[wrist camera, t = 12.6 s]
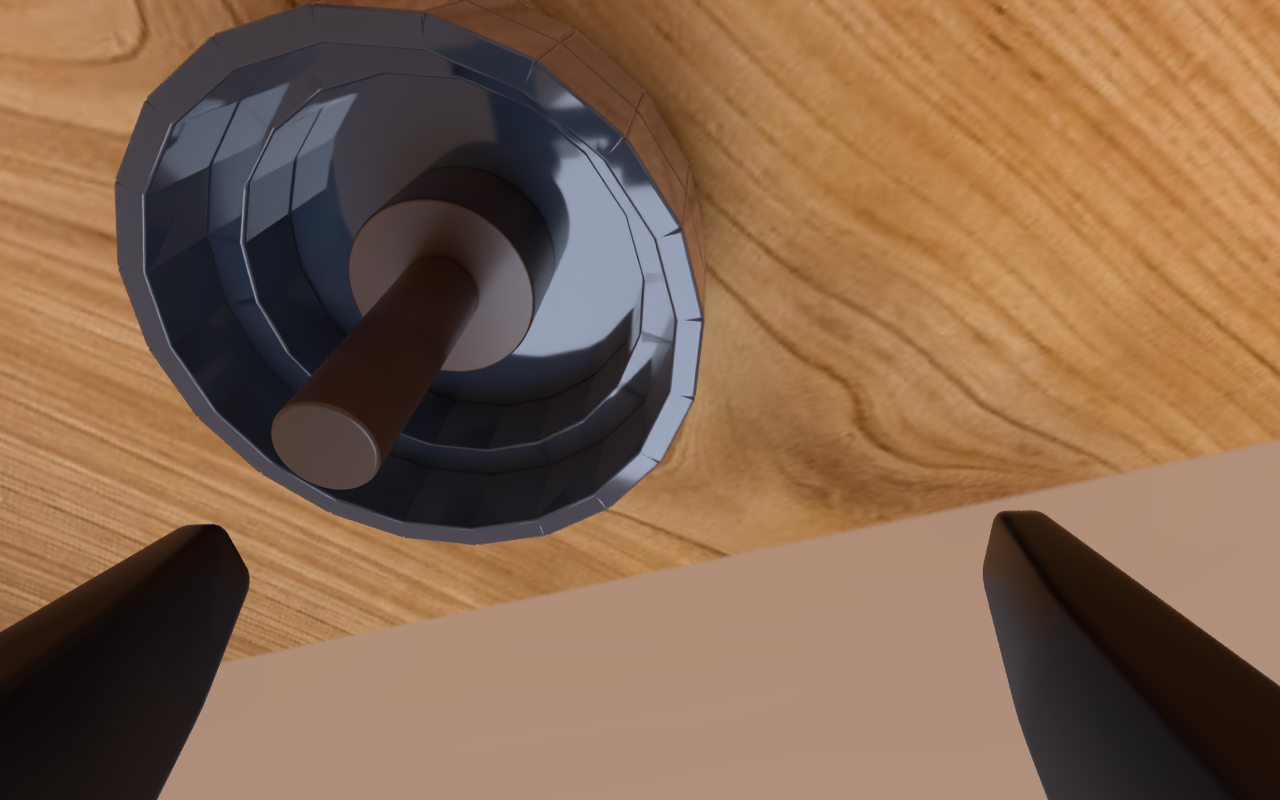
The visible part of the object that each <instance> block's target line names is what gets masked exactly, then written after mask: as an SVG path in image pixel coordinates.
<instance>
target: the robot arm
mask: <svg viewBox="0 0 1280 800" xmlns="http://www.w3.org/2000/svg"><path fill="white" fill-rule="evenodd" d="M983 581H984V586H985V591H986V595H987V599H988V603H989V607H990V611H991V615H992V619H993V623H994V627H995V630H996V635H997V639H998V642H999V646H1000V650H1001V654H1002V658H1003V662H1004V666H1005V670H1006V674H1007V678H1008V682H1009V686H1010V690H1011V694H1012V698H1013V701H1014V705H1015V709H1016V712H1017V716H1018V720H1019V723H1020V725H1021V728H1022V731H1023V734H1024V737H1025V740H1026V743H1027V745H1028V748H1029V751H1030V753H1031V756H1032V759H1033V761H1034V764H1035V767H1036V769H1037V772H1038V775H1039V777H1040V780H1041V783H1042V785H1043V788H1044V790H1045V793H1046V796H1047V799H1048V800H1280V686H1279V685H1277V684H1276V683H1275V682H1273V681H1272V680H1271V679H1269V678H1268V677H1267V676H1265V675H1264V674H1263V673H1261V672H1260V671H1258V670H1257V669H1256V668H1254V667H1253V666H1252V665H1250V664H1249V663H1247V662H1246V661H1245V660H1243V659H1242V658H1240V657H1239V656H1238V655H1236V654H1235V653H1234V652H1232V651H1231V650H1230V649H1228V648H1227V647H1225V646H1224V645H1223V644H1222V643H1220V642H1219V641H1217V640H1216V639H1215V638H1213V637H1212V636H1211V635H1209V634H1208V633H1206V632H1205V631H1203V630H1202V629H1201V628H1199V627H1198V626H1197V625H1196V624H1194V623H1193V622H1191V621H1190V620H1189V619H1187V618H1186V617H1184V616H1183V615H1182V614H1180V613H1179V612H1178V611H1176V610H1175V609H1174V608H1172V607H1171V606H1169V605H1168V604H1167V603H1165V602H1164V601H1163V600H1161V599H1160V598H1158V597H1157V596H1156V595H1154V594H1153V593H1152V592H1150V591H1149V590H1148V589H1146V588H1145V587H1144V586H1142V585H1141V584H1139V583H1138V582H1137V581H1135V580H1134V579H1132V578H1131V577H1130V576H1128V575H1127V574H1126V573H1124V572H1123V571H1122V570H1120V569H1119V568H1117V567H1116V566H1115V565H1113V564H1112V563H1111V562H1109V561H1108V560H1106V559H1105V558H1104V557H1103V556H1101V555H1100V554H1098V553H1097V552H1096V551H1094V550H1093V549H1092V548H1090V547H1089V546H1088V545H1086V544H1085V543H1083V542H1082V541H1081V540H1079V539H1078V538H1077V537H1075V536H1074V535H1072V534H1071V533H1070V532H1068V531H1067V530H1066V529H1064V528H1063V527H1062V526H1060V525H1059V524H1057V523H1056V522H1055V521H1053V520H1052V519H1050V518H1049V517H1048V516H1046V515H1045V514H1043V513H1041V512H1038V511H1032V510H1029V511H1002V512H1000V513H998V514H997V515H996V517H995V519H994V521H993V524H992V529H991V533H990V538H989V543H988V546H987V551H986V555H985V560H984V565H983ZM249 583H250V579H249V572H248V569H247V567H246V565H245V564H244V562H243V560H242V558H241V556H240V555H239V553H238V551H237V549H236V548H235V546H234V544H233V542H232V540H231V539H230V537H229V535H228V533H227V532H226V531H225V529H223V528H222V527H220V526H219V525H215V524H199V525H186V526H183V527H180V528H178V529H176V530H175V531H173V532H171V533H170V534H168V535H166V536H164V537H163V538H161V539H159V540H158V541H156V542H154V543H152V544H151V545H149V546H147V547H146V548H144V549H142V550H140V551H139V552H137V553H135V554H134V555H132V556H130V557H128V558H127V559H125V560H123V561H122V562H120V563H118V564H116V565H115V566H113V567H111V568H110V569H108V570H106V571H104V572H103V573H101V574H99V575H98V576H96V577H94V578H92V579H91V580H89V581H87V582H86V583H84V584H82V585H80V586H79V587H77V588H75V589H74V590H72V591H70V592H68V593H67V594H65V595H63V596H62V597H60V598H58V599H56V600H55V601H53V602H51V603H50V604H48V605H46V606H44V607H43V608H41V609H39V610H38V611H36V612H34V613H32V614H31V615H29V616H27V617H26V618H24V619H22V620H20V621H19V622H17V623H15V624H14V625H12V626H10V627H8V628H7V629H5V630H3V631H2V632H0V800H157V799H158V797H159V795H160V793H161V791H162V789H163V787H164V785H165V783H166V781H167V779H168V777H169V775H170V773H171V771H172V769H173V767H174V765H175V763H176V761H177V759H178V757H179V755H180V752H181V751H182V749H183V747H184V745H185V743H186V741H187V739H188V737H189V735H190V733H191V731H192V729H193V727H194V724H195V722H196V720H197V718H198V716H199V714H200V712H201V709H202V707H203V705H204V703H205V700H206V698H207V695H208V693H209V691H210V688H211V685H212V683H213V680H214V678H215V675H216V673H217V670H218V668H219V665H220V662H221V660H222V657H223V655H224V652H225V649H226V647H227V644H228V642H229V639H230V636H231V634H232V631H233V629H234V626H235V623H236V621H237V618H238V616H239V613H240V610H241V608H242V605H243V603H244V600H245V598H246V595H247V592H248V589H249Z"/></svg>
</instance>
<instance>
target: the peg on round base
mask: <svg viewBox="0 0 1280 800" xmlns="http://www.w3.org/2000/svg"><path fill="white" fill-rule="evenodd" d="M553 265H554V256H553V247H552V243H551V239H550V235H549V233H548V230H547V227H546V225H545V223H544V221H543V219H542V218H541V216H540V214H539V213H538V211H537V210H536V208H535V207H534V206H533V205H532V203H531V202H530V201H529V200H528V199H527V198H526V197H525V196H524V195H523V194H522V193H521V192H520V191H519V190H517V189H516V188H515V187H513V186H512V185H510V184H509V183H508V182H506V181H504V180H502V179H501V178H499V177H497V176H495V175H492V174H490V173H487V172H484V171H481V170H477V169H473V168H465V167H447V168H441V169H436V170H433V171H430V172H427V173H425V174H423V175H421V176H419V177H417V178H416V179H414V180H413V181H412V182H410V183H409V184H408V185H407V186H405V187H404V188H403V189H402V190H401V191H400V192H398V193H397V194H396V195H395V196H394V197H392V198H391V199H390V200H389V201H388V202H387V203H385V204H384V205H383V206H382V207H381V208H380V209H378V210H377V211H376V212H375V213H374V214H373V215H371V216H370V217H369V218H368V219H367V220H366V221H365V222H364V224H363V225H362V226H361V228H360V229H359V230H358V232H357V234H356V236H355V238H354V240H353V243H352V246H351V249H350V253H349V260H348V278H349V285H350V289H351V292H352V296H353V299H354V301H355V304H356V306H357V308H358V310H359V312H360V314H361V315H362V317H363V318H362V319H361V320H360V321H359V323H358V324H357V325H356V326H355V327H354V328H353V329H352V330H351V332H350V333H349V334H348V335H347V336H346V337H345V338H344V339H343V341H342V342H341V343H340V344H339V345H338V346H337V347H336V348H335V350H334V351H333V352H332V353H331V354H330V355H329V356H328V357H327V359H326V360H325V361H324V362H323V363H322V364H321V365H320V366H319V367H318V369H317V370H316V371H315V372H314V373H313V374H312V375H311V376H310V378H309V379H308V380H307V381H306V382H305V383H304V384H303V385H302V387H301V388H300V389H299V390H298V391H297V392H296V393H295V394H294V396H293V397H292V398H291V399H290V400H289V401H288V402H287V403H286V405H285V406H284V407H283V408H282V409H281V410H280V411H279V413H278V414H277V415H276V417H275V419H274V421H273V424H272V431H271V436H272V442H273V445H274V448H275V450H276V452H277V454H278V456H279V457H280V458H281V460H282V461H283V462H284V463H285V464H286V466H287V467H289V468H290V469H291V470H292V471H293V472H294V473H296V474H297V475H298V476H300V477H301V478H303V479H305V480H307V481H309V482H311V483H313V484H316V485H319V486H322V487H325V488H330V489H351V488H356V487H359V486H361V485H363V484H365V483H367V482H368V481H370V480H371V479H372V478H373V477H374V476H375V475H376V473H377V472H378V470H379V469H380V467H381V465H382V464H383V462H384V461H385V459H386V457H387V456H388V454H389V452H390V451H391V449H392V447H393V446H394V444H395V443H396V441H397V439H398V438H399V436H400V434H401V433H402V431H403V430H404V428H405V426H406V425H407V423H408V421H409V420H410V418H411V416H412V415H413V413H414V412H415V410H416V408H417V407H418V405H419V403H420V402H421V400H422V399H423V397H424V395H425V394H426V392H427V390H428V389H429V387H430V385H431V384H432V382H433V381H434V379H435V377H436V376H437V374H438V372H439V371H440V370H441V371H449V372H468V371H475V370H480V369H484V368H487V367H489V366H492V365H495V364H497V363H498V362H500V361H502V360H504V359H505V358H507V357H508V356H509V355H511V354H512V353H513V352H514V351H515V350H516V349H517V348H518V347H519V346H520V344H521V343H522V342H523V340H524V339H525V337H526V335H527V333H528V331H529V329H530V327H531V325H532V323H533V321H534V318H535V316H536V314H537V312H538V310H539V307H540V305H541V303H542V301H543V298H544V296H545V294H546V292H547V290H548V287H549V285H550V281H551V278H552V273H553Z"/></svg>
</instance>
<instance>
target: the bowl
mask: <svg viewBox="0 0 1280 800" xmlns="http://www.w3.org/2000/svg"><path fill="white" fill-rule="evenodd" d="M447 167H465V168H473V169H477V170H481V171H484V172H487V173H490V174H492V175H495V176H497V177H499V178H501V179H502V180H504V181H506V182H508V183H509V184H510V185H512V186H513V187H515V188H516V189H517V190H519V191H520V192H521V193H522V194H523V195H524V196H525V197H526V198H527V199H528V200H529V201H530V202H531V203H532V205H533V206H534V207H535V208H536V210H537V211H538V213H539V214H540V216H541V218H542V219H543V221H544V223H545V225H546V227H547V230H548V233H549V235H550V239H551V243H552V247H553V256H554V265H553V273H552V278H551V281H550V285H549V287H548V290H547V292H546V294H545V296H544V298H543V301H542V303H541V305H540V307H539V310H538V312H537V314H536V316H535V318H534V321H533V323H532V325H531V327H530V329H529V331H528V333H527V335H526V337H525V339H524V340H523V342H522V343H521V344H520V346H519V347H518V348H517V349H516V350H515V351H514V352H513V353H512V354H511V355H509V356H508V357H507V358H505V359H504V360H502V361H500V362H498V363H497V364H495V365H492V366H489V367H487V368H484V369H480V370H475V371H468V372H449V371H441V370H440V371H439V372H438V374H437V376H436V377H435V379H434V381H433V382H432V384H431V385H430V387H429V389H428V390H427V392H426V394H425V395H424V397H423V399H422V400H421V402H420V403H419V405H418V407H417V408H416V410H415V412H414V413H413V415H412V416H411V418H410V420H409V421H408V423H407V425H406V426H405V428H404V430H403V431H402V433H401V434H400V436H399V438H398V439H397V441H396V443H395V444H394V446H393V447H392V449H391V451H390V452H389V454H388V456H387V457H386V459H385V461H384V462H383V464H382V465H381V467H380V469H379V470H378V472H377V473H376V475H375V476H374V477H373V478H372V479H371V480H370V481H368V482H367V483H365V484H363V485H361V486H359V487H356V488H351V489H330V488H325V487H322V486H319V485H316V484H313V483H311V482H309V481H307V480H305V479H303V478H301V477H300V476H298V475H297V474H296V473H294V472H293V471H292V470H291V469H290V468H289V467H287V466H286V464H285V463H284V462H283V461H282V460H281V458H280V457H279V456H278V454H277V452H276V450H275V448H274V445H273V442H272V436H271V431H272V424H273V421H274V419H275V417H276V415H277V414H278V413H279V411H280V410H281V409H282V408H283V407H284V406H285V405H286V403H287V402H288V401H289V400H290V399H291V398H292V397H293V396H294V394H295V393H296V392H297V391H298V390H299V389H300V388H301V387H302V385H303V384H304V383H305V382H306V381H307V380H308V379H309V378H310V376H311V375H312V374H313V373H314V372H315V371H316V370H317V369H318V367H319V366H320V365H321V364H322V363H323V362H324V361H325V360H326V359H327V357H328V356H329V355H330V354H331V353H332V352H333V351H334V350H335V348H336V347H337V346H338V345H339V344H340V343H341V342H342V341H343V339H344V338H345V337H346V336H347V335H348V334H349V333H350V332H351V330H352V329H353V328H354V327H355V326H356V325H357V324H358V323H359V321H360V320H361V319H362V318H363V317H362V315H361V314H360V312H359V310H358V308H357V306H356V304H355V301H354V299H353V296H352V292H351V289H350V285H349V278H348V260H349V253H350V249H351V246H352V243H353V240H354V238H355V236H356V234H357V232H358V230H359V229H360V228H361V226H362V225H363V224H364V222H365V221H366V220H367V219H368V218H369V217H370V216H371V215H373V214H374V213H375V212H376V211H377V210H378V209H380V208H381V207H382V206H383V205H384V204H385V203H387V202H388V201H389V200H390V199H391V198H392V197H394V196H395V195H396V194H397V193H398V192H400V191H401V190H402V189H403V188H404V187H405V186H407V185H408V184H409V183H410V182H412V181H413V180H414V179H416V178H417V177H419V176H421V175H423V174H425V173H427V172H430V171H433V170H436V169H441V168H447ZM116 180H117V181H116V182H115V207H116V234H117V260H118V266H119V272H120V274H121V277H122V280H123V282H124V285H125V288H126V291H127V293H128V296H129V299H130V301H131V304H132V307H133V309H134V312H135V315H136V317H137V320H138V323H139V325H140V328H141V331H142V333H143V336H144V339H145V341H146V344H147V346H148V347H149V350H150V352H151V353H152V354H153V356H154V357H155V359H156V360H157V361H158V363H159V364H160V366H161V367H162V368H163V370H164V371H165V373H166V374H167V375H168V377H169V378H170V380H171V381H172V383H173V384H174V385H175V387H176V388H177V390H178V391H179V392H180V394H181V395H182V397H183V398H184V399H185V401H186V402H187V404H188V405H189V406H190V408H191V409H192V411H193V412H194V413H195V415H196V416H197V417H199V419H200V420H201V421H202V422H203V423H204V424H205V425H206V426H208V427H209V428H210V429H211V430H212V431H213V432H214V433H215V434H216V435H218V436H219V437H220V438H221V439H222V440H223V441H224V442H225V443H227V444H228V445H229V446H230V447H231V448H232V449H233V450H234V451H236V452H237V453H238V454H239V455H240V456H241V457H242V458H243V459H244V460H246V461H247V462H248V463H249V464H250V465H251V466H252V467H253V468H255V469H256V470H257V471H258V472H262V474H263V475H264V476H266V477H268V478H269V479H271V480H273V481H275V482H276V483H278V484H280V485H282V486H283V487H285V488H287V489H289V490H290V491H292V492H294V493H296V494H297V495H299V496H301V497H302V498H304V499H306V500H308V501H309V502H311V503H313V504H315V505H316V506H318V507H320V508H322V509H323V510H325V511H327V512H331V513H332V514H333V515H337V516H340V517H343V518H346V519H349V520H352V521H355V522H358V523H361V524H364V525H367V526H370V527H373V528H376V529H379V530H382V531H385V532H388V533H391V534H394V535H397V536H400V537H403V536H404V537H405V538H412V539H422V540H431V541H441V542H451V543H460V544H470V545H476V544H479V545H481V544H488V543H495V542H503V541H510V540H517V539H525V538H532V537H539V536H545V535H546V534H547V535H549V534H551V533H554V532H556V531H558V530H561V529H563V528H565V527H567V526H570V525H572V524H574V523H577V522H579V521H581V520H584V519H586V518H588V517H590V516H593V515H595V514H597V513H600V512H602V511H604V510H606V509H608V508H609V507H611V506H613V505H614V504H615V503H616V502H617V501H618V500H619V499H620V498H622V497H623V496H624V495H625V494H626V493H627V492H628V491H629V490H630V489H632V488H633V487H634V486H635V485H636V484H637V483H638V482H639V481H641V480H642V479H643V478H644V477H645V476H646V475H647V474H648V473H649V472H651V471H652V470H653V469H654V468H655V467H656V466H657V465H658V464H659V463H660V462H661V461H662V460H663V458H664V457H665V455H666V453H667V451H668V449H669V447H670V445H671V443H672V441H673V440H674V438H675V436H676V434H677V432H678V430H679V428H680V426H681V424H682V423H683V421H684V419H685V417H686V415H687V413H688V411H689V409H690V407H691V405H692V404H693V402H694V397H695V395H696V388H697V380H698V371H699V363H700V354H701V346H702V338H703V329H704V319H705V274H706V236H705V231H704V227H703V222H702V218H701V213H700V209H699V204H698V200H697V195H696V191H695V186H694V181H693V177H692V172H691V168H690V165H688V161H687V159H686V157H685V155H684V154H683V152H682V150H681V149H680V147H679V145H678V144H677V142H676V140H675V138H674V137H673V135H672V133H671V132H670V130H669V128H668V127H667V125H666V123H665V121H664V120H663V118H662V116H661V115H660V113H659V111H658V110H657V108H656V106H655V104H654V103H653V101H652V99H651V98H650V96H649V94H648V93H647V92H646V91H644V89H643V87H642V86H641V85H640V84H638V83H637V82H636V81H635V80H634V79H633V78H632V77H631V76H630V75H628V74H627V73H626V72H625V71H624V70H623V69H622V68H621V67H619V66H618V65H617V64H616V63H615V62H614V61H613V60H612V59H611V58H609V57H608V56H607V55H606V54H605V53H604V52H603V51H602V50H601V49H599V48H598V47H597V46H596V45H595V44H594V43H593V42H592V41H590V40H589V39H588V38H587V37H586V36H585V35H584V34H583V33H582V32H580V31H576V29H575V28H574V27H573V26H571V25H568V24H566V23H564V22H561V21H559V20H557V19H555V18H552V17H550V16H548V15H546V14H543V13H541V12H539V11H537V10H534V9H532V8H530V7H527V6H525V5H523V4H521V3H518V2H516V1H514V0H322V1H317V2H312V3H307V4H304V5H301V6H298V7H295V8H292V9H289V10H286V11H283V12H279V13H276V14H273V15H270V16H267V17H264V18H261V19H258V20H255V21H252V22H249V23H246V24H243V25H240V26H237V27H234V28H230V29H227V30H224V31H221V32H218V33H215V35H214V36H212V37H209V38H208V39H207V40H206V41H205V42H204V43H203V44H202V45H201V46H200V47H199V48H198V49H197V50H196V51H195V52H194V53H193V54H192V55H191V56H189V57H188V58H187V59H186V60H185V61H184V62H183V63H182V64H181V65H180V66H179V67H178V68H177V69H176V70H175V71H174V72H173V73H172V74H171V75H170V76H168V77H167V78H166V79H165V80H164V81H163V82H162V83H161V84H160V85H159V86H158V87H157V88H156V89H155V90H154V91H153V92H152V93H151V94H150V95H149V96H148V97H147V100H146V101H145V102H144V104H143V107H142V109H141V112H140V115H139V117H138V120H137V123H136V125H135V128H134V131H133V133H132V136H131V139H130V142H129V144H128V147H127V150H126V152H125V155H124V158H123V160H122V163H121V166H120V168H119V171H118V174H117V176H116Z"/></svg>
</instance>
